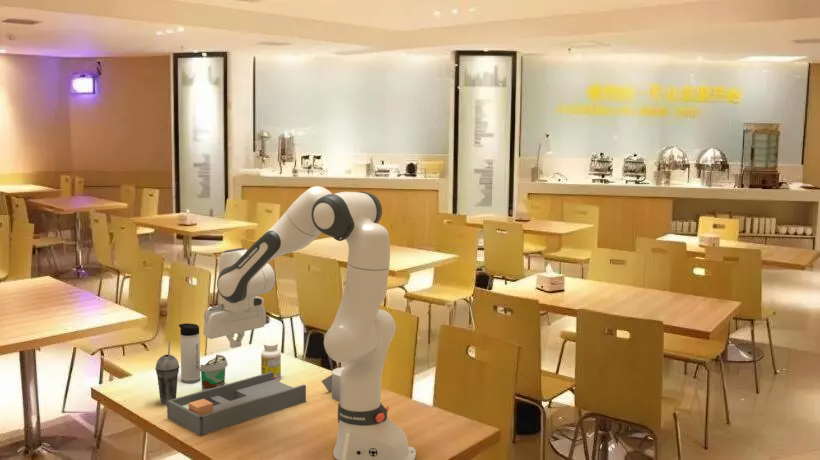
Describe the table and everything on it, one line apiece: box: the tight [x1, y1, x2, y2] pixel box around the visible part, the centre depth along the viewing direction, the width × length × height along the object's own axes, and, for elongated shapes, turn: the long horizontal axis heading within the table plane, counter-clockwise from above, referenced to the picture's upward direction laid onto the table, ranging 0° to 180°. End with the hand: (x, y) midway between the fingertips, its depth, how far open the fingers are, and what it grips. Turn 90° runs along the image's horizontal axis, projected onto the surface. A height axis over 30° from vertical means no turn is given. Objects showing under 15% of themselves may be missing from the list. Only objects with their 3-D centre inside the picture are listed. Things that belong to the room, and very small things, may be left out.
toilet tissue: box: [321, 366, 345, 403], centre depth 251 cm, size 9×13×9 cm
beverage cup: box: [154, 340, 180, 406], centre depth 241 cm, size 7×7×20 cm
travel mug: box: [178, 322, 201, 384], centre depth 261 cm, size 6×7×20 cm
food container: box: [200, 354, 229, 391], centre depth 255 cm, size 12×6×10 cm, turn 168°
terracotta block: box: [189, 399, 213, 416], centre depth 224 cm, size 5×5×4 cm
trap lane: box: [166, 372, 307, 437], centre depth 238 cm, size 38×18×6 cm, turn 137°
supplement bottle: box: [260, 341, 282, 382], centre depth 265 cm, size 7×7×13 cm
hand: (235, 346), depth 230 cm, fingers closed
